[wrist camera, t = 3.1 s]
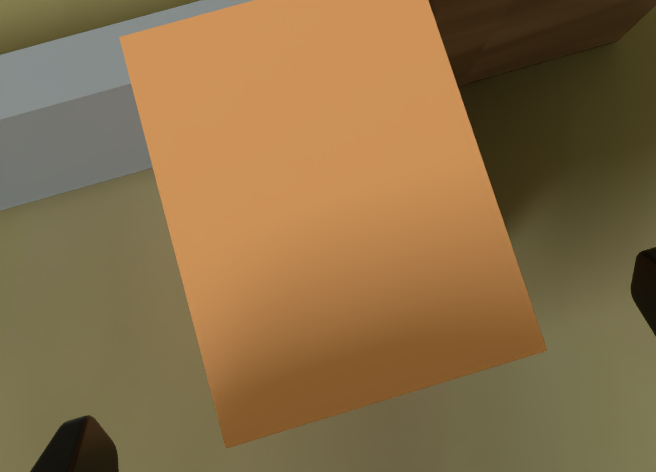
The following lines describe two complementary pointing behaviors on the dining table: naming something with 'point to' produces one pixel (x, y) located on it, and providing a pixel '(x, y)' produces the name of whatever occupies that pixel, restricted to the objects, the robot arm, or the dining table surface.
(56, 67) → the door
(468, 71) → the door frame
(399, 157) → the tan rectangular slab
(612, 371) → the dining table surface
